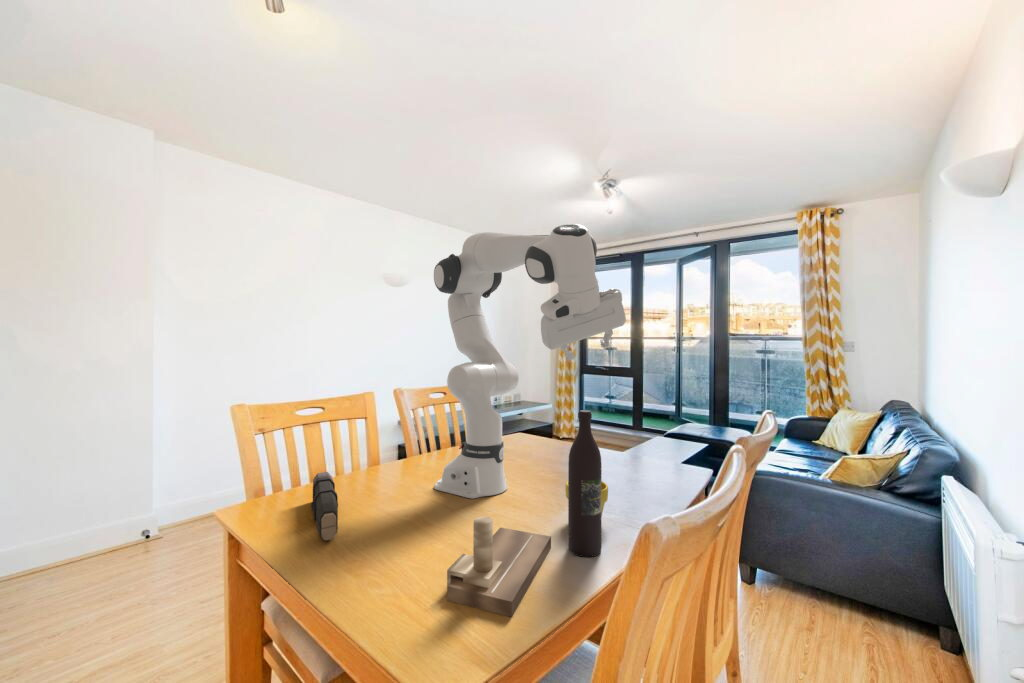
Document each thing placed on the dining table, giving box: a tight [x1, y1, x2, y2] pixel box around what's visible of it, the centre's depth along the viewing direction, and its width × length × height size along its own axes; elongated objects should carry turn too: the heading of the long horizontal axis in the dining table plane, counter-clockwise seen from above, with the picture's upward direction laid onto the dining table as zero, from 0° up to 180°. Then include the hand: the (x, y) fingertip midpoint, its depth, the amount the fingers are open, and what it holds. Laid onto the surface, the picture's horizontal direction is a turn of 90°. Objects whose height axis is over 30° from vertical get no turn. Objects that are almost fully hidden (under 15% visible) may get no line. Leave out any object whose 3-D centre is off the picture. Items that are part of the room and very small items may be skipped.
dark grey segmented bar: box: [310, 471, 339, 541], centre depth 102 cm, size 11×7×30 cm
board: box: [446, 527, 552, 618], centre depth 79 cm, size 12×24×3 cm, turn 159°
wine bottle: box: [567, 409, 602, 558], centre depth 88 cm, size 7×7×30 cm
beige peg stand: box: [446, 516, 502, 588], centre depth 74 cm, size 8×6×12 cm
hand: (587, 353), depth 97 cm, fingers open, 8 cm apart
